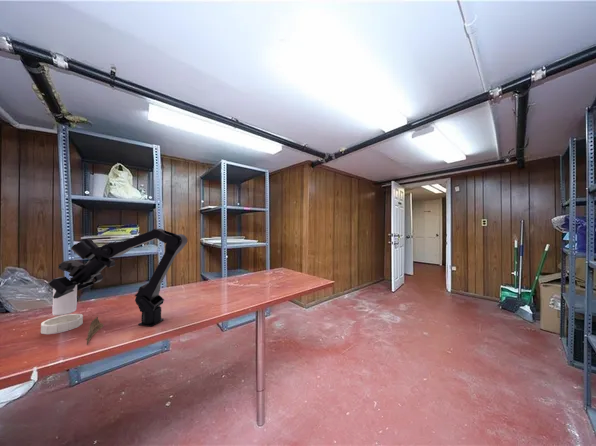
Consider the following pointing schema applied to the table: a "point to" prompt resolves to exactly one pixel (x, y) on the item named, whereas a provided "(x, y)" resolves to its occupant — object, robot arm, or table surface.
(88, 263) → the robot arm
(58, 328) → the bowl
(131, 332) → the table surface
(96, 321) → the brown curved piece
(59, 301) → the white rounded block
